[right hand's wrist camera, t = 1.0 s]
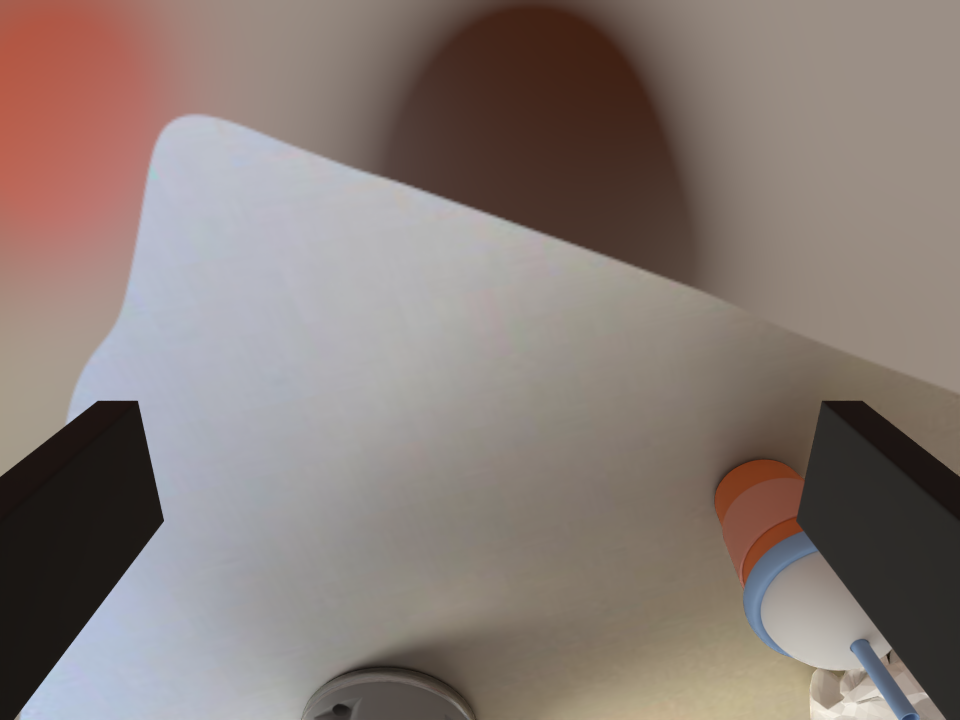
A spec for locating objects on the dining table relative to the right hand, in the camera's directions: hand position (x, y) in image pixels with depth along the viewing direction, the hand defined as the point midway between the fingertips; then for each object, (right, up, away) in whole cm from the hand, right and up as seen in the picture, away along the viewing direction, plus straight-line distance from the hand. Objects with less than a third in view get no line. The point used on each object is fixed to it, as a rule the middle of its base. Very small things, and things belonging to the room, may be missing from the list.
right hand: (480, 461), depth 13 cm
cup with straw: (+20, -8, +34) cm, 40 cm away
